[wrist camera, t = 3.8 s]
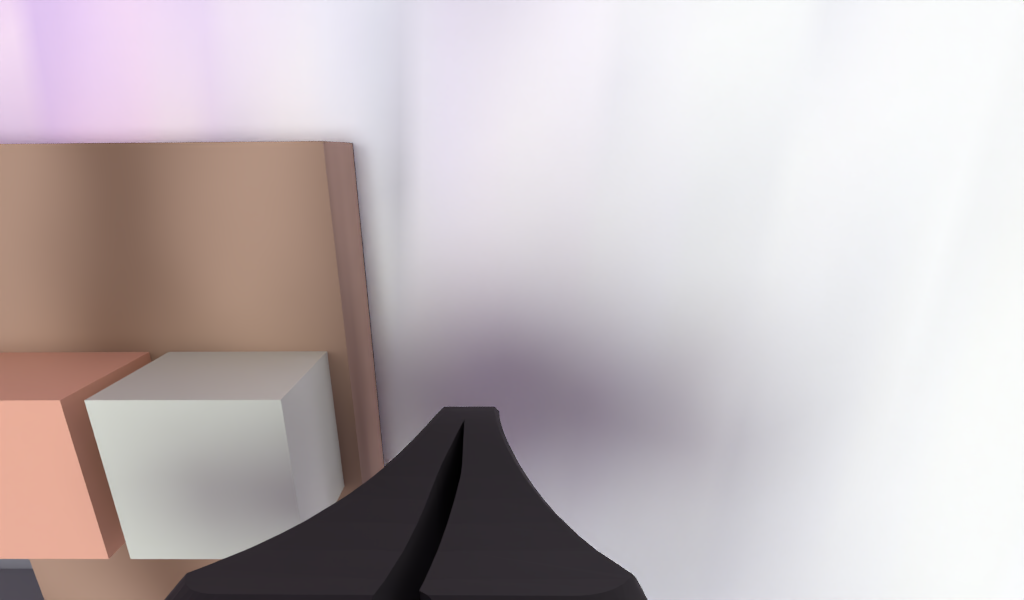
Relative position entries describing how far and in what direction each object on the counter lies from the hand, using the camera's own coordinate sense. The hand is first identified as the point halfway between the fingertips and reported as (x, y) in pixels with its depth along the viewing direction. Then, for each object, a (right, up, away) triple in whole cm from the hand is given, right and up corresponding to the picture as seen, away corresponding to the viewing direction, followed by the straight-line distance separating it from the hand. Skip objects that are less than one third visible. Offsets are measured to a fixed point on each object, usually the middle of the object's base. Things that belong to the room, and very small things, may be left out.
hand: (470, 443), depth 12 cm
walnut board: (-8, +1, +3) cm, 9 cm away
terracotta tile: (-10, 0, +1) cm, 10 cm away
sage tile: (-6, 0, +1) cm, 6 cm away
